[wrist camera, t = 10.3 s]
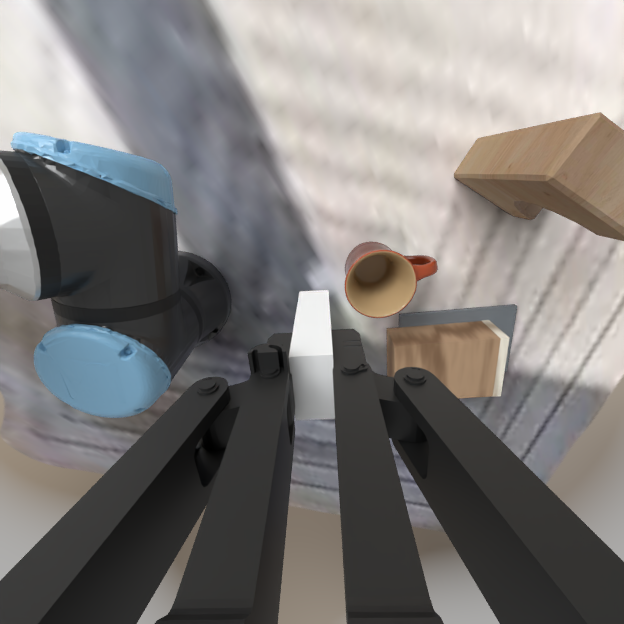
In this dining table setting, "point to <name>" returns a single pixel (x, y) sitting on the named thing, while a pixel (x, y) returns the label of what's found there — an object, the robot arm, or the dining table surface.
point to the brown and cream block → (453, 355)
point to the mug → (383, 278)
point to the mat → (466, 319)
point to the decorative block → (554, 172)
